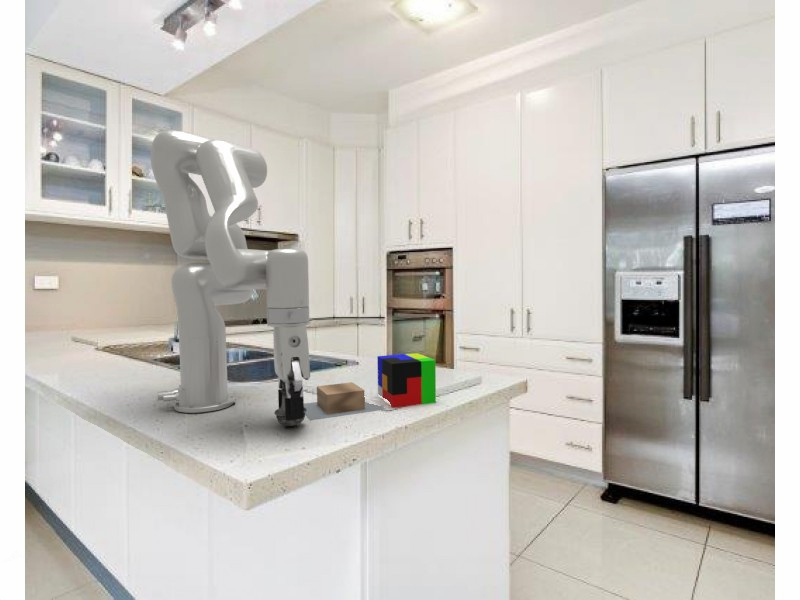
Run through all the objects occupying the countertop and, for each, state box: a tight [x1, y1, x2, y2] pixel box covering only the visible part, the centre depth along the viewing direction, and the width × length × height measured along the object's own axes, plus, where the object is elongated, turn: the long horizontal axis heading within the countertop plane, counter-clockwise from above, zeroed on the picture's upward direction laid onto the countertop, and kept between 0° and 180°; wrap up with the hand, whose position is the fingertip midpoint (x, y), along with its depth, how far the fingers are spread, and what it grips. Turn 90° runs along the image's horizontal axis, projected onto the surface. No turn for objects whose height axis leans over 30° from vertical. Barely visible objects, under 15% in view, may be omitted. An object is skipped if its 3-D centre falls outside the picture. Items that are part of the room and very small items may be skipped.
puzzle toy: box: [377, 352, 437, 409], centre depth 101 cm, size 10×10×10 cm
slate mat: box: [304, 401, 386, 421], centre depth 96 cm, size 16×12×1 cm
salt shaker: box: [274, 377, 307, 430], centre depth 83 cm, size 6×6×12 cm
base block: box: [316, 381, 365, 415], centre depth 96 cm, size 8×8×4 cm
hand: (290, 413), depth 83 cm, fingers closed on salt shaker, 5 cm apart
